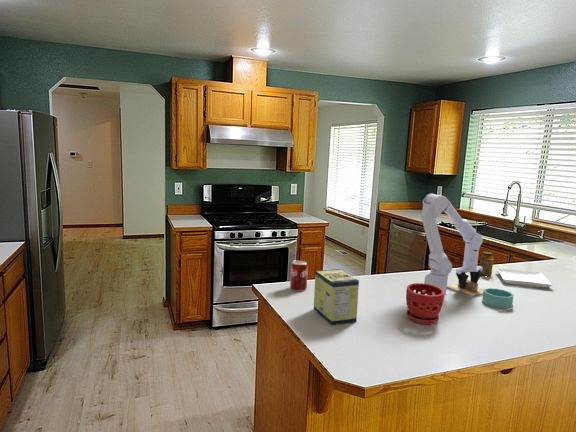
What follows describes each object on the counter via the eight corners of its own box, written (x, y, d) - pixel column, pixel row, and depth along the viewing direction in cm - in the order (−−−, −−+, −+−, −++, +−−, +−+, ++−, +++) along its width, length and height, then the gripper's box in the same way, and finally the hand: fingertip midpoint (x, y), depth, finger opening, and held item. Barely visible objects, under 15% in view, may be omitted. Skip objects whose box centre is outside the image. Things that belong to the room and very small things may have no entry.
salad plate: (502, 285, 198) (503, 278, 198) (494, 273, 218) (495, 267, 218) (552, 291, 192) (553, 284, 192) (539, 278, 212) (540, 272, 212)
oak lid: (468, 297, 177) (470, 287, 176) (445, 287, 189) (446, 278, 188) (489, 293, 183) (490, 284, 182) (465, 284, 194) (466, 275, 194)
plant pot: (397, 314, 156) (399, 284, 154) (425, 311, 160) (428, 281, 158) (419, 329, 144) (422, 296, 142) (449, 324, 148) (452, 292, 146)
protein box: (336, 306, 162) (339, 268, 159) (357, 322, 147) (360, 280, 145) (312, 309, 158) (314, 270, 155) (331, 325, 144) (333, 282, 141)
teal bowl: (499, 310, 164) (501, 298, 163) (476, 301, 174) (477, 290, 173) (518, 307, 169) (519, 295, 168) (494, 298, 178) (495, 287, 178)
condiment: (494, 275, 214) (497, 253, 212) (488, 278, 208) (490, 255, 206) (480, 272, 219) (482, 250, 217) (473, 275, 213) (476, 252, 211)
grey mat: (469, 299, 176) (469, 298, 176) (442, 288, 189) (442, 287, 189) (493, 295, 182) (493, 294, 182) (465, 284, 196) (465, 283, 196)
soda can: (307, 286, 184) (308, 260, 182) (306, 292, 177) (307, 265, 175) (290, 285, 184) (291, 259, 183) (289, 291, 177) (290, 264, 175)
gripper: (466, 262, 177) (463, 292, 179) (489, 259, 183) (486, 288, 185) (453, 257, 183) (450, 287, 185) (476, 255, 189) (473, 283, 191)
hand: (467, 287), depth 185 cm, fingers open, 6 cm apart
